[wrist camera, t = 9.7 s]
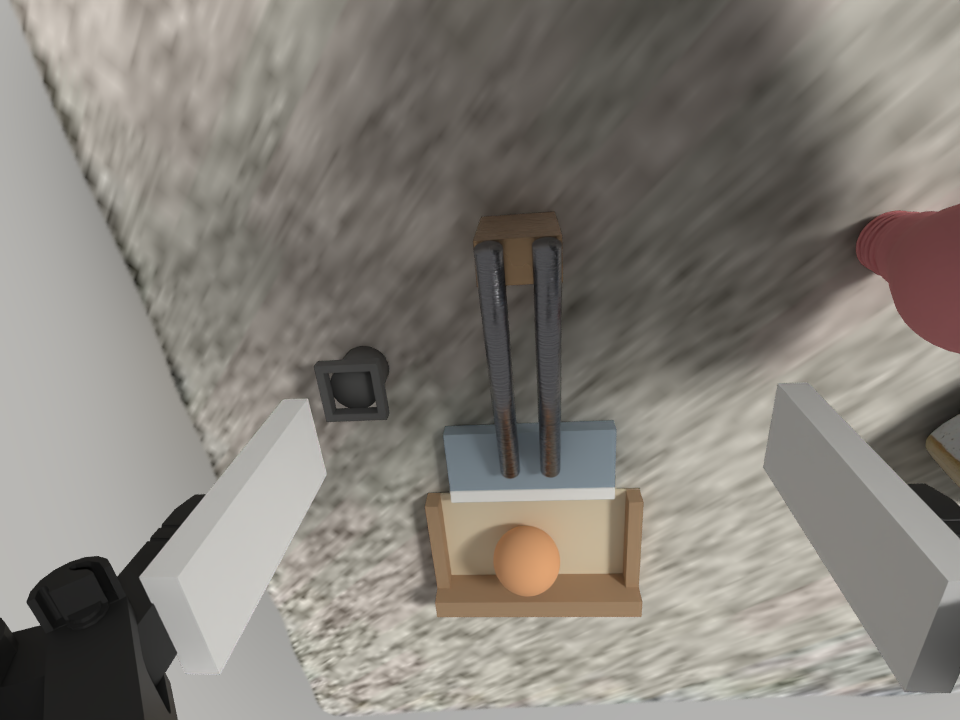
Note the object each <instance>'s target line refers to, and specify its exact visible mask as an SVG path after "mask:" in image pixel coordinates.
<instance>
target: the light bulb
mask: <svg viewBox="0 0 960 720" xmlns="http://www.w3.org/2000/svg"><path fill="white" fill-rule="evenodd" d="M856 254H857V258H858V260H859V261H860V262H861V264H862V265H863V266H865V267H866V268H868V269H870V270H872V271H873V272H874V273H876V274H877V275H880V276H882V278H884V279H885V280H886V281H887V282H888V283H889V287H890V291H891V294H892V297H893V300H894V303H895V306H896V309H897V311H898V313H899V314H900V316H901V317H902V319H903V320H904V322H905V323H906V324H907V325H908V326H909V327H910V328H911V329H912V330H913V331H914V332H915V333H916V334H918V335H919V336H920V337H922V338H923V339H925V340H926V341H928V342H930V343H932V344H933V345H936V346H938V347H941V348H943V349H945V350H948V351H951V352H955V353H959V354H960V204H958V205H955V206H952V207H949V208H946V209H943V210H941V211H939V212H935V211H928V212H921V213H920V212H906V211H891V212H887V213H884V214H882V215H879V216H878V217H876V218H875V219H873V220H872V221H870V222H869V223H868V224H867V225H866V226H865V227H864V229H863V230H862V231H861V233H860V235H859V237H858V240H857V242H856Z"/></svg>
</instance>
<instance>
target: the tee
mask: <svg viewBox="0 0 960 720" xmlns="http://www.w3.org/2000/svg"><path fill="white" fill-rule="evenodd" d="M314 370H315V374H316V378H317V382H318V387H319V391H320V395H321V400H322V404H323V408H324V412H325V417H326V421H327V422H336V421H364V420H387V418H388V416H389V407H388V402H387V396H386V390H385V384H384V383H385V381H386V379H387V377H388V374H389V365H388V362H387V360H386V358H385V357H384V355H383V354H382V353H381V352H379V351H378V350H376V349H374V348H372V347H367V346H360V347H356V348H353V349H352V350H350V351H349V352H348V353H347V355H346V356H345V357H344V359H343V360H330V361H318V362H317V363H316V364H315V366H314ZM329 373H334V374H333V375H332V377H331V380H330V378H329ZM334 397H335V399H336V400H337V401H338V402H339V403H341V404H342V405H344V406H346V407H348V408H341V409H336V405H335V400H334ZM375 401H376V405H377V407H369V406H371V405H372V404H373V403H374V402H375Z"/></svg>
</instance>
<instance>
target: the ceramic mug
mask: <svg viewBox="0 0 960 720" xmlns="http://www.w3.org/2000/svg"><path fill="white" fill-rule="evenodd" d="M926 449H927V451H928V452H929V454H930V455H931V456H932V457H933V459H934V460H935V461H936V462H937V463H938V464H939V466H940V467H941V468H942V469H943V470H944V471H945V472H946V474H947V475H948V476H949V477H950V478H951V479H952V480H953V481H954V482H955V483H956V484H957V485H958V487H959V488H960V414H958V415H957V416H955V417H953V418H952V419H950V420H948V421H947V422H945V423H943V424H942V425H941V426H939V427H938V428H937V429H936V430H935V431H933V432H932V433H931V434H930V435H929V436H928V438H927V439H926Z"/></svg>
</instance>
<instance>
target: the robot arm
mask: <svg viewBox="0 0 960 720" xmlns="http://www.w3.org/2000/svg"><path fill="white" fill-rule="evenodd" d="M763 468H764V469H765V471H766V473H767V474H768V476H769V477H770V479H771V481H772V482H773V484H774V485H775V487H776V489H777V490H778V492H779V493H780V495H781V496H782V498H783V500H784V501H785V503H786V504H787V506H788V508H789V509H790V511H791V512H792V514H793V515H794V517H795V519H796V520H797V522H798V523H799V525H800V527H801V528H802V530H803V531H804V533H805V535H806V536H807V538H808V539H809V541H810V542H811V544H812V546H813V547H814V549H815V550H816V552H817V554H818V555H819V557H820V558H821V560H822V562H823V563H824V565H825V566H826V568H827V569H828V571H829V573H830V574H831V576H832V577H833V579H834V581H835V582H836V584H837V585H838V587H839V588H840V590H841V592H842V593H843V595H844V596H845V598H846V600H847V601H848V603H849V604H850V606H851V608H852V609H853V611H854V612H855V614H856V615H857V617H858V619H859V620H860V622H861V623H862V625H863V627H864V628H865V630H866V631H867V633H868V635H869V636H870V638H871V639H872V641H873V642H874V644H875V646H876V647H877V649H878V650H879V652H880V654H881V655H882V657H883V658H884V660H885V661H886V663H887V665H888V666H889V668H890V669H891V671H892V673H893V674H894V676H895V677H896V679H897V681H898V682H899V684H900V685H901V687H902V688H903V690H904V692H926V693H951V692H952V689H953V687H954V685H955V683H956V680H957V678H958V676H959V674H960V506H959V505H958V504H956V503H955V502H954V501H953V500H952V499H950V498H949V497H947V496H945V495H944V494H942V493H940V492H938V491H937V490H935V489H933V488H932V487H930V486H928V485H926V484H906V483H905V482H904V481H903V480H902V479H901V478H900V477H899V476H898V475H897V474H896V473H895V472H894V470H893V469H892V468H891V467H890V466H889V465H888V464H887V463H886V462H885V461H884V460H883V459H882V458H881V457H880V456H879V455H878V454H877V453H876V452H875V451H874V450H873V449H872V448H871V447H870V446H869V445H868V444H867V443H866V442H865V441H864V440H863V439H862V438H861V437H860V436H859V434H858V433H857V432H856V431H855V430H854V429H853V428H852V427H851V426H850V425H849V424H848V423H847V422H846V421H845V420H844V419H843V418H842V417H841V416H840V415H839V414H838V413H837V412H836V411H835V410H834V409H833V408H832V407H831V406H830V405H829V404H828V403H827V402H826V401H825V400H824V398H823V397H822V396H821V395H820V394H819V393H818V392H817V391H816V390H815V389H814V388H813V387H812V386H811V385H810V384H809V383H808V382H805V383H778V384H777V390H776V396H775V402H774V407H773V413H772V419H771V425H770V430H769V436H768V442H767V448H766V453H765V459H764V465H763ZM326 475H327V473H326V469H325V465H324V461H323V457H322V453H321V449H320V445H319V441H318V437H317V433H316V429H315V425H314V421H313V417H312V413H311V409H310V405H309V401H308V399H283V400H282V401H281V402H280V404H279V405H278V406H277V407H276V409H275V410H274V411H273V412H272V414H271V415H270V416H269V417H268V419H267V420H266V421H265V422H264V423H263V425H262V426H261V427H260V428H259V430H258V431H257V432H256V433H255V435H254V436H253V437H252V438H251V440H250V441H249V442H248V443H247V444H246V446H245V447H244V448H243V449H242V451H241V452H240V453H239V454H238V456H237V457H236V458H235V459H234V461H233V462H232V463H231V464H230V465H229V467H228V468H227V469H226V470H225V472H224V473H223V474H222V475H221V477H220V478H219V479H218V480H217V482H216V483H215V484H214V485H213V487H212V488H211V489H210V490H209V492H208V493H207V494H203V495H194V496H192V497H191V498H190V499H188V500H187V501H186V502H184V503H183V504H181V505H180V506H179V507H177V508H176V509H175V510H174V511H173V512H172V513H171V515H170V516H169V517H168V518H167V519H166V520H165V521H164V523H163V524H162V527H161V528H159V529H158V530H157V531H156V532H155V533H154V534H153V535H152V537H151V538H150V541H148V542H146V544H145V545H144V546H143V547H142V548H141V549H140V551H139V552H138V553H137V554H136V555H135V557H134V558H133V559H132V560H131V561H130V562H129V564H128V565H127V566H126V567H125V568H124V570H123V571H122V572H121V573H120V574H119V576H116V574H115V572H114V570H113V568H112V566H111V564H110V563H109V561H108V559H106V558H103V557H99V556H94V557H84V558H81V559H78V560H75V561H72V562H69V563H67V564H65V565H63V566H61V567H59V568H57V569H55V570H54V571H52V572H51V573H50V574H48V575H47V576H46V577H44V578H43V579H42V580H40V581H39V583H38V584H37V585H36V586H35V587H34V588H33V589H32V591H31V592H30V594H29V597H28V599H27V604H28V606H29V607H30V609H31V610H32V612H33V613H34V615H35V617H36V618H37V620H38V622H39V623H40V626H36V627H32V628H28V629H25V630H21V631H16V632H13V633H12V632H11V631H10V630H9V628H8V626H7V625H6V624H5V622H4V621H3V620H2V618H0V720H178V719H177V714H176V709H175V704H174V699H173V694H172V689H171V684H170V681H169V679H168V677H167V675H166V673H165V672H166V671H167V669H168V667H169V665H170V664H171V663H172V661H173V659H174V658H175V656H176V655H177V657H178V659H179V662H180V663H181V666H182V668H183V670H184V672H185V674H213V675H220V674H221V672H222V670H223V668H224V666H225V664H226V663H227V661H228V659H229V657H230V655H231V653H232V651H233V649H234V648H235V646H236V644H237V642H238V640H239V638H240V636H241V634H242V633H243V631H244V629H245V627H246V625H247V623H248V621H249V619H250V618H251V616H252V614H253V612H254V610H255V608H256V606H257V604H258V603H259V601H260V599H261V597H262V595H263V593H264V591H265V589H266V588H267V586H268V584H269V582H270V580H271V578H272V576H273V574H274V573H275V571H276V569H277V567H278V565H279V563H280V561H281V559H282V558H283V556H284V554H285V552H286V550H287V548H288V546H289V544H290V543H291V541H292V539H293V537H294V535H295V533H296V531H297V529H298V528H299V526H300V524H301V522H302V520H303V518H304V516H305V514H306V513H307V511H308V509H309V507H310V505H311V503H312V501H313V499H314V498H315V496H316V494H317V492H318V490H319V488H320V486H321V484H322V483H323V481H324V479H325V477H326Z"/></svg>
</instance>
